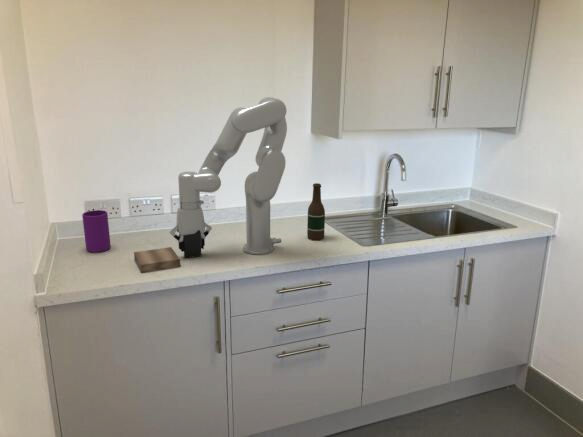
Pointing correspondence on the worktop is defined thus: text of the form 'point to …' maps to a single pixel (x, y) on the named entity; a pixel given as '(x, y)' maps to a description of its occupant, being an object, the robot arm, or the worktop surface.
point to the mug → (96, 231)
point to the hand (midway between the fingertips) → (192, 248)
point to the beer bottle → (316, 216)
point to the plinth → (156, 259)
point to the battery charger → (192, 245)
